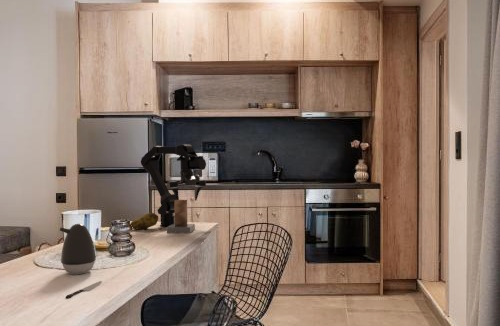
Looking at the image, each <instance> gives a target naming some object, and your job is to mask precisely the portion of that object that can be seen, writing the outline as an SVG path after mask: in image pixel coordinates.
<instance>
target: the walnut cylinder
mask: <svg viewBox="0 0 500 326" xmlns="http://www.w3.org/2000/svg"><path fill="white" fill-rule="evenodd" d="M174 210H175V213H174V216H175V226H187V224H188V200H187V199H179V200H174Z"/></svg>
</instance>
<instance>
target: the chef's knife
mask: <svg viewBox="0 0 500 326" xmlns="http://www.w3.org/2000/svg"><path fill="white" fill-rule="evenodd" d="M102 283H103V282H102V280H99V281H96V282H94V283H92V284H90V285H87V286H85V287H83V288H81V289H79V290H76V291H74V292H72V293H70V294H67V295H66V296H65V299H71V298H72V297H75V296H76V295H78V294H81V293H84V292H91V291H93V290H95V289H96V288H97V287H99V286H100V285H101V284H102Z"/></svg>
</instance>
